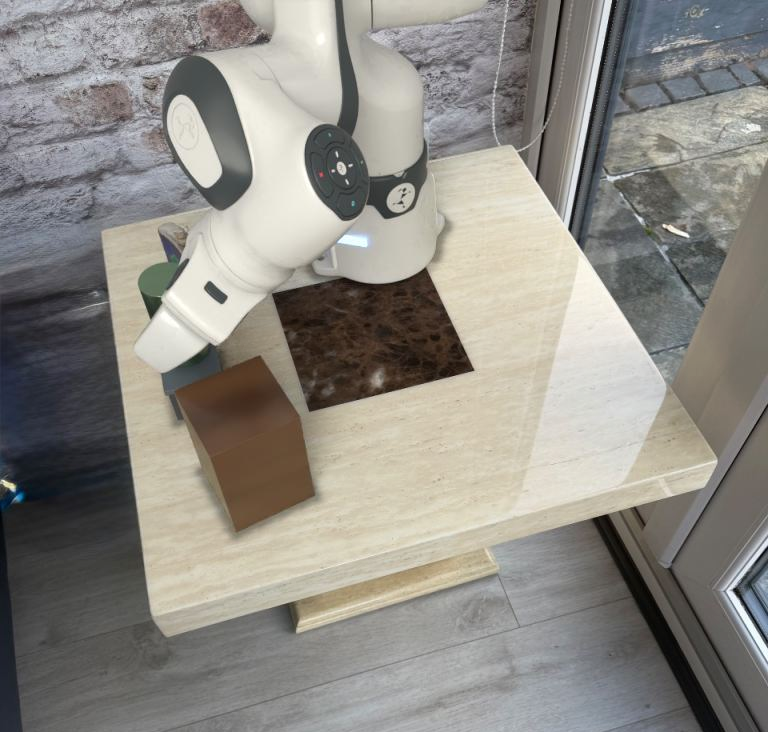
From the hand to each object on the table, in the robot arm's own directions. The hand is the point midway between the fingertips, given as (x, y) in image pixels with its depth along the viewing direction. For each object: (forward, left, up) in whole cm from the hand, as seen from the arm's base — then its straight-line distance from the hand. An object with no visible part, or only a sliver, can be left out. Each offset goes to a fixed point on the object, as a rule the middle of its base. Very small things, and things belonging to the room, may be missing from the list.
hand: (168, 312), depth 87 cm
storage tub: (0, 0, -11) cm, 11 cm away
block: (+16, +1, -11) cm, 20 cm away
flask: (-13, +6, -11) cm, 18 cm away
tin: (0, 0, -5) cm, 5 cm away
